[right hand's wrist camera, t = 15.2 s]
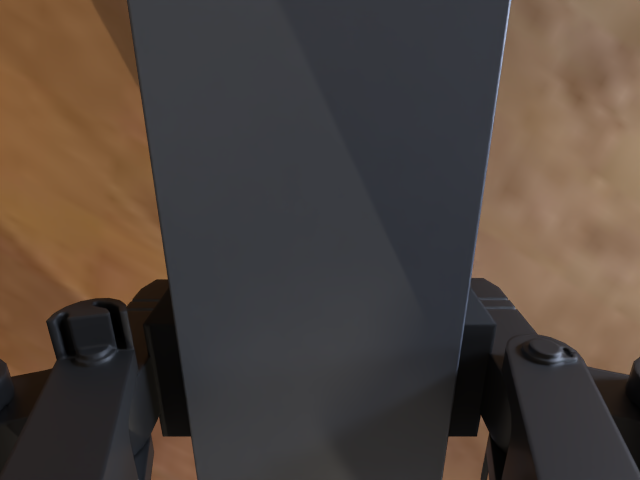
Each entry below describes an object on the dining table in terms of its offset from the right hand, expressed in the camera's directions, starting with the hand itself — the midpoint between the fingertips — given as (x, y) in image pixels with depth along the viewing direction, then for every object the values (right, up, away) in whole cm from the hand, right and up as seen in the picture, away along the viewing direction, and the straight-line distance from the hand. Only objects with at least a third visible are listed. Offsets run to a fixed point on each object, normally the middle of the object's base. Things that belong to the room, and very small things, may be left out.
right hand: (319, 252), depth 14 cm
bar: (0, +23, -8) cm, 25 cm away
